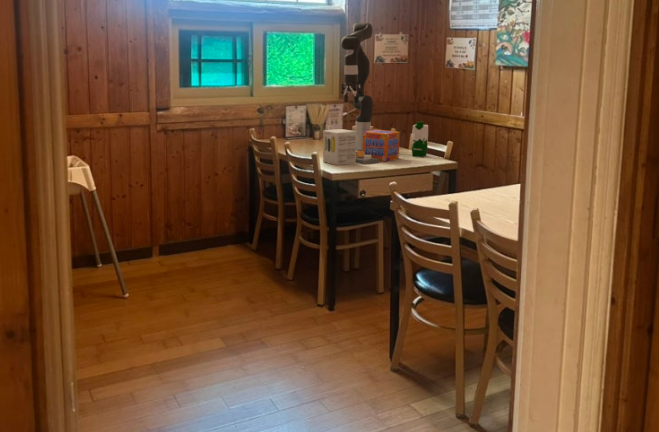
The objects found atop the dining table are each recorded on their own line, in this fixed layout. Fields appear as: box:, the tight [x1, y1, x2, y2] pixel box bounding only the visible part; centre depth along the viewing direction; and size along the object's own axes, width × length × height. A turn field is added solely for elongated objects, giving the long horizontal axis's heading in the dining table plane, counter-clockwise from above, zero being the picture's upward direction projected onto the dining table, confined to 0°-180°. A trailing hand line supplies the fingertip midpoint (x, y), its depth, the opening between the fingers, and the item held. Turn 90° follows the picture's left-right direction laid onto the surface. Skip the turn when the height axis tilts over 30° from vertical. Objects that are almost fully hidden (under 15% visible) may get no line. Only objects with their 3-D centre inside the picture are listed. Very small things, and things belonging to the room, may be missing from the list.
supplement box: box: [322, 128, 357, 166], centre depth 387 cm, size 13×13×18 cm
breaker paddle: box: [356, 150, 365, 157], centre depth 394 cm, size 5×2×3 cm, turn 128°
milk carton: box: [411, 121, 429, 158], centre depth 413 cm, size 9×9×20 cm
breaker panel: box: [355, 155, 380, 165], centre depth 394 cm, size 11×18×4 cm, turn 38°
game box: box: [361, 129, 401, 163], centre depth 402 cm, size 16×16×16 cm
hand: (351, 102), depth 402 cm, fingers open, 8 cm apart
